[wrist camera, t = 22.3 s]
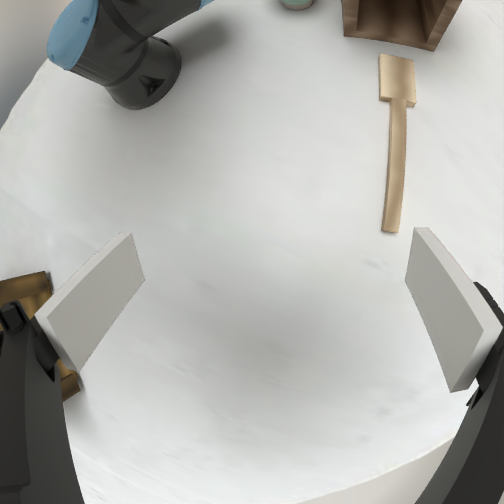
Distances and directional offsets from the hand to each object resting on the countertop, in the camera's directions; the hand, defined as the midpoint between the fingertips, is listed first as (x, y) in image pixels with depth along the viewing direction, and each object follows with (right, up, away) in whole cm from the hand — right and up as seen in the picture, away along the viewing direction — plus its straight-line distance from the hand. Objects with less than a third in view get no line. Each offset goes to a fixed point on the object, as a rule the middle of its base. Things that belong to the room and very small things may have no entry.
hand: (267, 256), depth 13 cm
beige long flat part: (+21, +17, +25) cm, 37 cm away
